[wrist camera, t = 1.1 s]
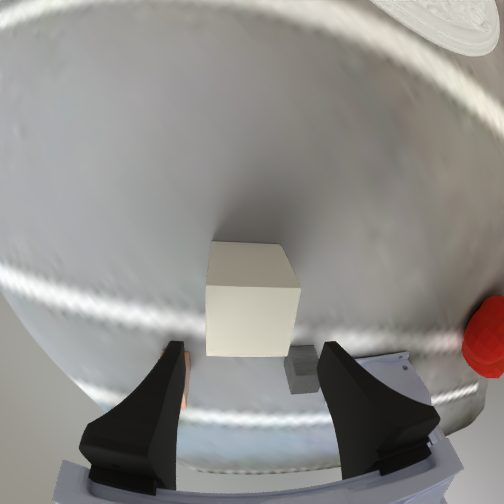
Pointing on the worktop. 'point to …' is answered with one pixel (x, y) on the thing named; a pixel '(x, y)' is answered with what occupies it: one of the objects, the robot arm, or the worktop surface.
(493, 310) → the tomato
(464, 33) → the ceiling medallion
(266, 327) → the cream rectangular block
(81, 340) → the worktop surface
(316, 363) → the dark gray block
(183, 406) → the post
